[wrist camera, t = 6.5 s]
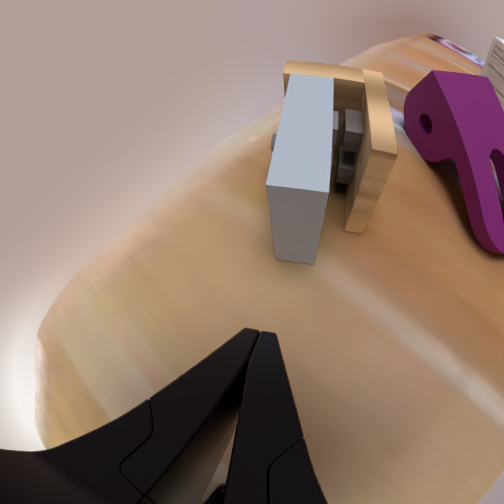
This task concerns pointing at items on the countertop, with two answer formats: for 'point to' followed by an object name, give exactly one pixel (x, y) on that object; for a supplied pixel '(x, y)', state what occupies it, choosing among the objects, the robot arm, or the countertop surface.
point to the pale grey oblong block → (302, 167)
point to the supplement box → (495, 68)
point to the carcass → (357, 135)
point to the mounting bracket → (463, 142)
